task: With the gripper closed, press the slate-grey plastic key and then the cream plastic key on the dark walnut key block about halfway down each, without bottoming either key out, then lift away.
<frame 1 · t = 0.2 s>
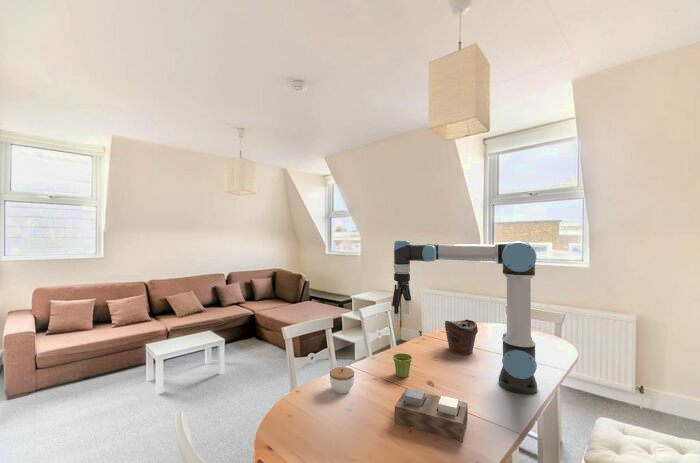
hand: (402, 317, 148), 28 cm above the table, tool pointing down, fingers open, 13 cm apart
key block: (431, 421, 112), on the table
plant pot: (402, 375, 149), on the table
brown tapered cylinder: (461, 350, 180), on the table
slate key: (415, 398, 114), point 7 cm above the table, slide at 0.0 cm
lidded jar: (342, 390, 134), on the table
cream key: (448, 407, 109), point 7 cm above the table, slide at 0.0 cm
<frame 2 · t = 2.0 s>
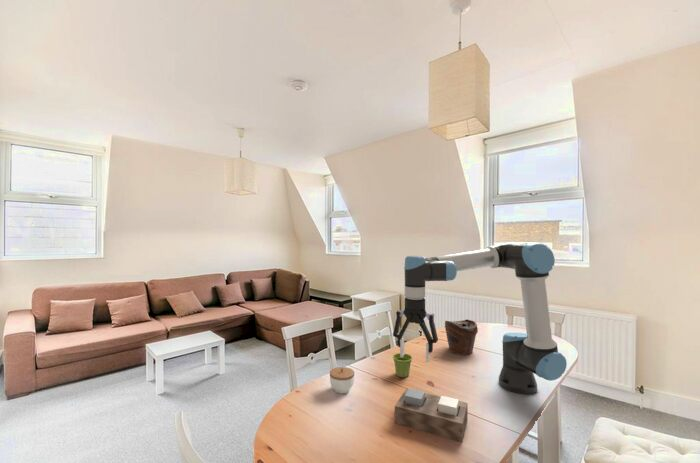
hand: (414, 358, 115), 21 cm above the table, tool pointing down, fingers open, 9 cm apart
nothing on the table moved.
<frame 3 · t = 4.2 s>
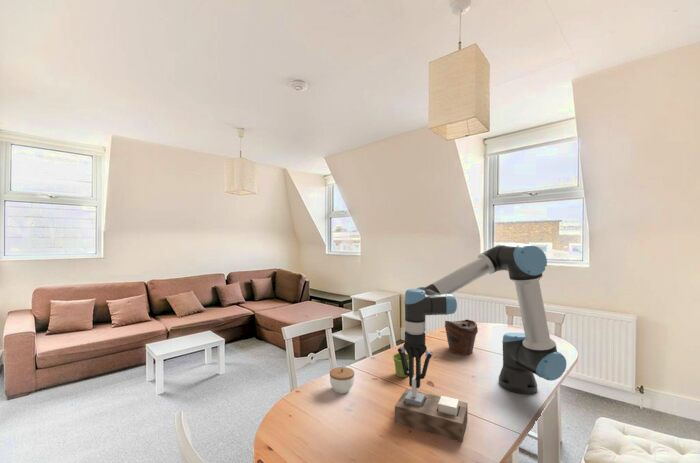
hand: (414, 395, 114), 8 cm above the table, tool pointing down, fingers closed
slate key: (415, 401, 114), point 6 cm above the table, slide at 1.0 cm, touching gripper
everything else where it was.
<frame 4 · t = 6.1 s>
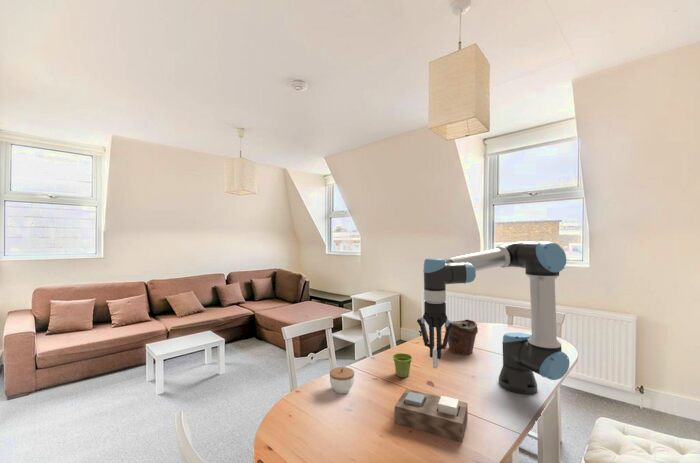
hand: (435, 366, 111), 20 cm above the table, tool pointing down, fingers closed
slate key: (415, 402, 114), point 5 cm above the table, slide at 1.3 cm
everything else where it was.
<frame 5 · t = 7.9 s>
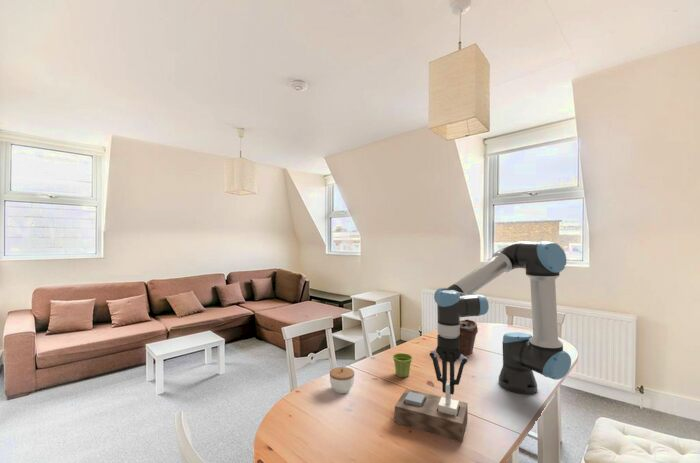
hand: (448, 402, 109), 8 cm above the table, tool pointing down, fingers closed
cream key: (448, 408, 109), point 6 cm above the table, slide at 0.5 cm, touching gripper
everything else where it was.
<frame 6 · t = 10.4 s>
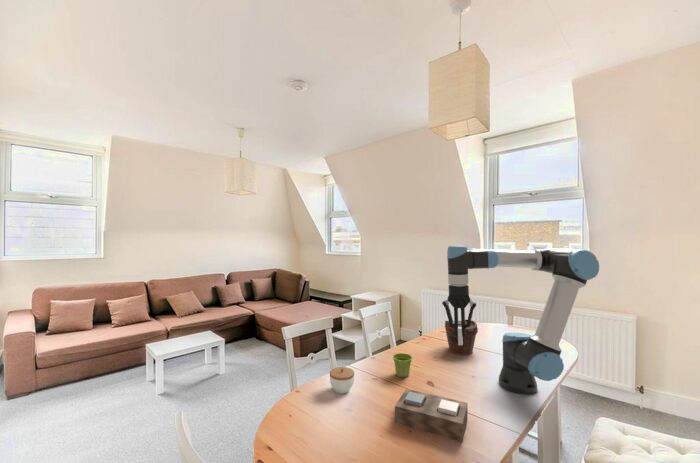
hand: (460, 344, 122), 24 cm above the table, tool pointing down, fingers closed
cream key: (448, 410, 109), point 5 cm above the table, slide at 1.3 cm
everything else where it was.
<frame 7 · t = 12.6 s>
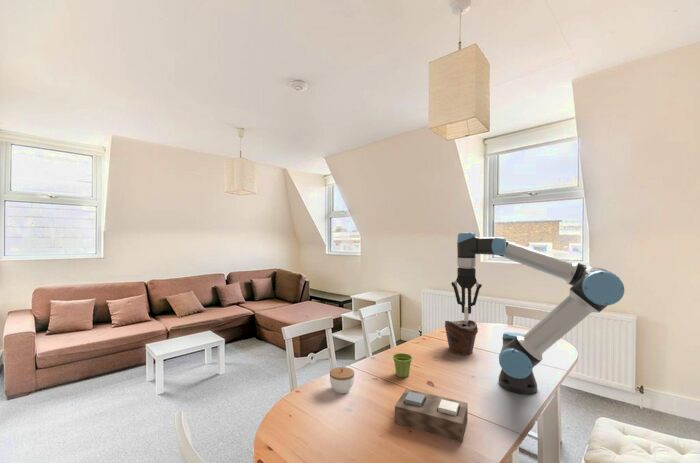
hand: (466, 320, 137), 29 cm above the table, tool pointing down, fingers closed
nothing on the table moved.
at the end: slate key slide at 1.3 cm; cream key slide at 1.3 cm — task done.
